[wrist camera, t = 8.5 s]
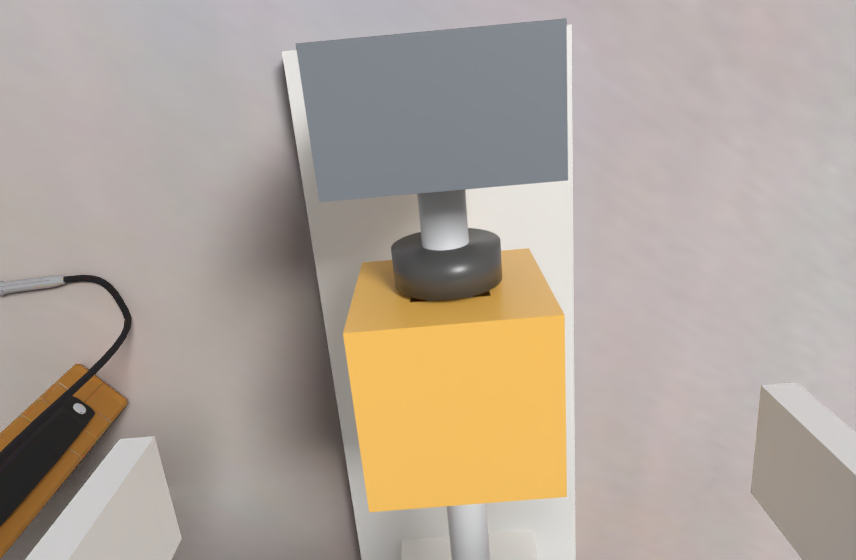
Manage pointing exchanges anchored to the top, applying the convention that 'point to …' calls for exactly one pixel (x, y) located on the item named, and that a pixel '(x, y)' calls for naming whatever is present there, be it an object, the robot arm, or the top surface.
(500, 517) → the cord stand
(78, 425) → the multimeter
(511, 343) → the cube with square hole
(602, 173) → the top surface
